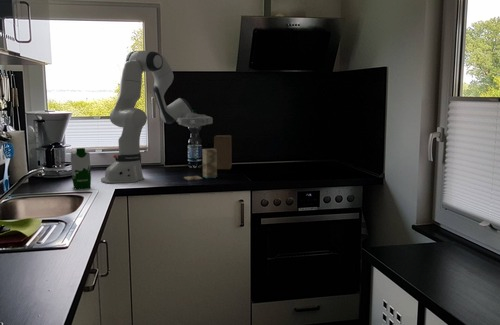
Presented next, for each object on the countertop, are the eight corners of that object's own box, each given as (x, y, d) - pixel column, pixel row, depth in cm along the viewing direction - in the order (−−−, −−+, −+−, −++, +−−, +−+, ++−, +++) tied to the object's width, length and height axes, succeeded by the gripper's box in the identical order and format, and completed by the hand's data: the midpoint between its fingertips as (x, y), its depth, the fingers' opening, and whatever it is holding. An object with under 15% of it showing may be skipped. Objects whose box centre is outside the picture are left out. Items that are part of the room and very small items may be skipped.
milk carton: (74, 190, 239) (71, 149, 236) (71, 186, 247) (69, 147, 244) (92, 188, 243) (90, 148, 240) (89, 185, 251) (87, 146, 248)
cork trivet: (188, 180, 263) (188, 179, 263) (183, 178, 270) (183, 176, 270) (202, 179, 267) (202, 178, 267) (197, 176, 274) (197, 175, 274)
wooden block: (230, 169, 298) (230, 136, 295) (214, 169, 298) (213, 136, 295) (231, 166, 308) (231, 135, 305) (215, 166, 308) (215, 135, 305)
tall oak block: (206, 178, 269) (206, 150, 267) (202, 176, 275) (202, 149, 272) (216, 177, 272) (216, 149, 270) (212, 175, 277) (212, 148, 275)
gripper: (174, 115, 287) (182, 116, 275) (207, 114, 296) (216, 115, 284) (175, 126, 288) (183, 128, 276) (207, 124, 297) (216, 126, 285)
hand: (200, 121), depth 280 cm, fingers open, 5 cm apart
